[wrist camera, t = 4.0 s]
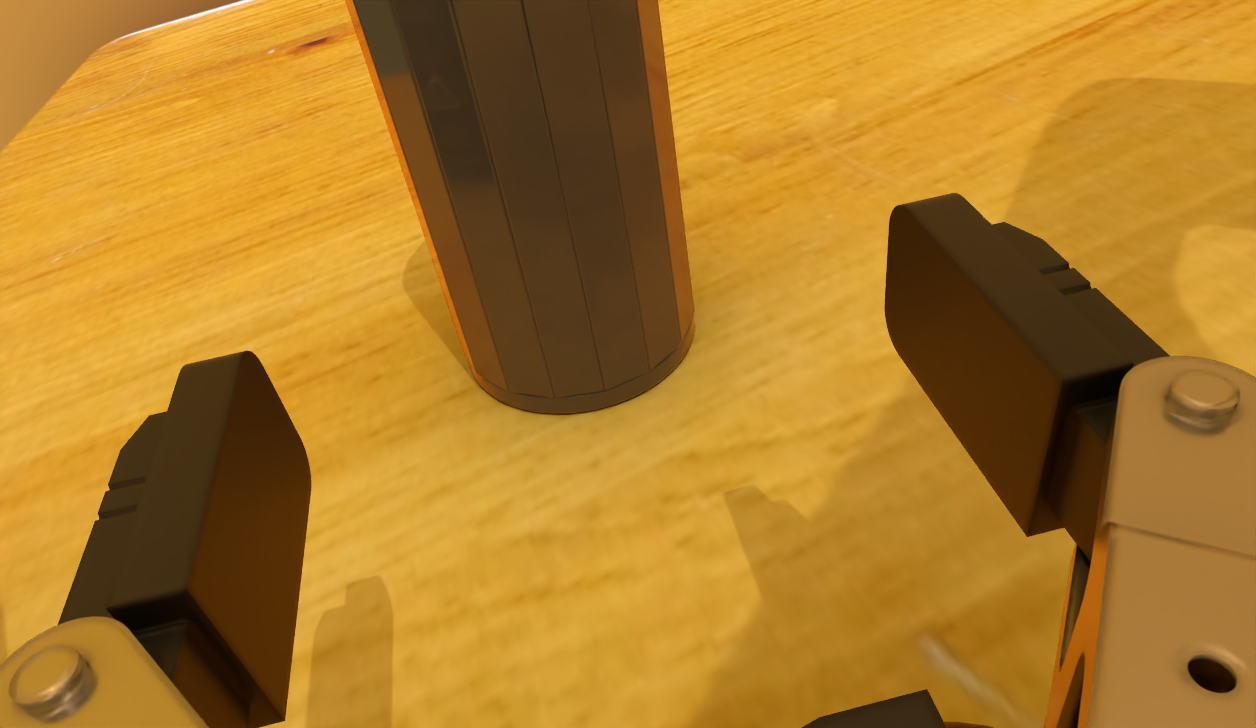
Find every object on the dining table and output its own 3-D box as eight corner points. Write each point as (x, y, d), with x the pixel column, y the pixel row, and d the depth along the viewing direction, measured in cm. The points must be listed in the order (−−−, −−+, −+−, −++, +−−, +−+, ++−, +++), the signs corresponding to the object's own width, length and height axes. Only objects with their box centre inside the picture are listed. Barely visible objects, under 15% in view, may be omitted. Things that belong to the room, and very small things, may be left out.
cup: (632, 246, 28) (569, -143, 21) (738, 352, 24) (702, -100, 17) (441, 321, 27) (304, -74, 20) (515, 450, 22) (371, -5, 15)
